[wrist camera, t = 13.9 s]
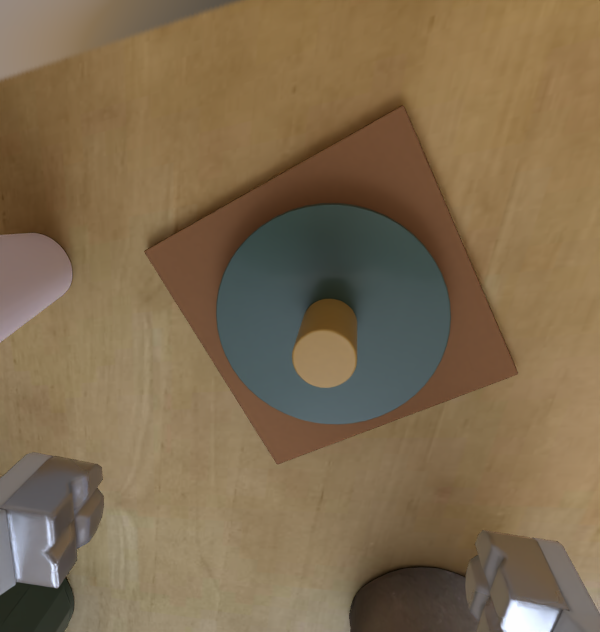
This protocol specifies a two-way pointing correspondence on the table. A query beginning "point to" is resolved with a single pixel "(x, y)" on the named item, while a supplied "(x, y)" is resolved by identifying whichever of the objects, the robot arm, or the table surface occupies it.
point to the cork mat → (362, 190)
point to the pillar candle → (413, 603)
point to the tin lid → (333, 313)
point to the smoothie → (29, 278)
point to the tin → (36, 608)
